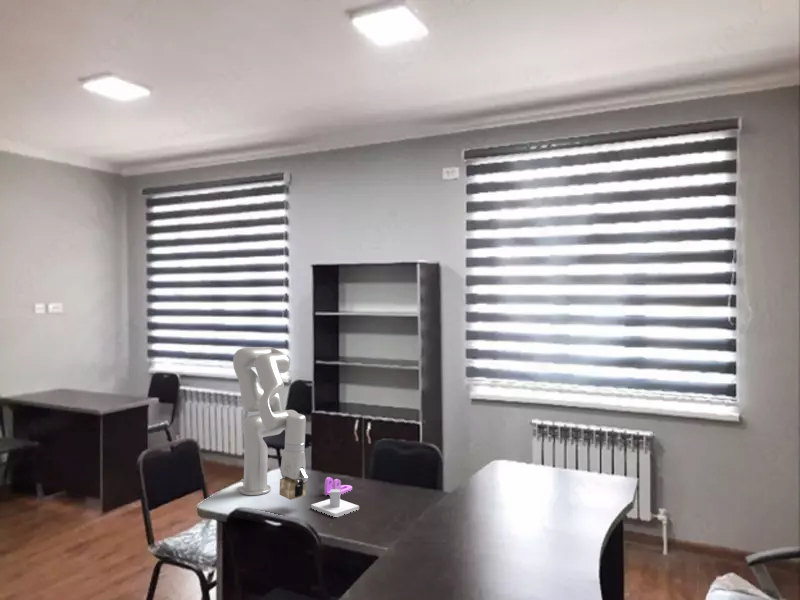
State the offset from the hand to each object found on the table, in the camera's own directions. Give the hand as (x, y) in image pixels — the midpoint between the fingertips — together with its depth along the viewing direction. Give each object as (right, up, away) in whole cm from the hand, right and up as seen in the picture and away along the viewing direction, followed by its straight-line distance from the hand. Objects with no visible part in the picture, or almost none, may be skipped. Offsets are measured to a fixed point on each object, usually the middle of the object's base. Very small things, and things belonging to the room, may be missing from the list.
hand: (292, 492), depth 216 cm
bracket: (+16, -7, +20) cm, 27 cm away
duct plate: (+16, -6, 0) cm, 17 cm away
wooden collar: (0, -1, 0) cm, 1 cm away
